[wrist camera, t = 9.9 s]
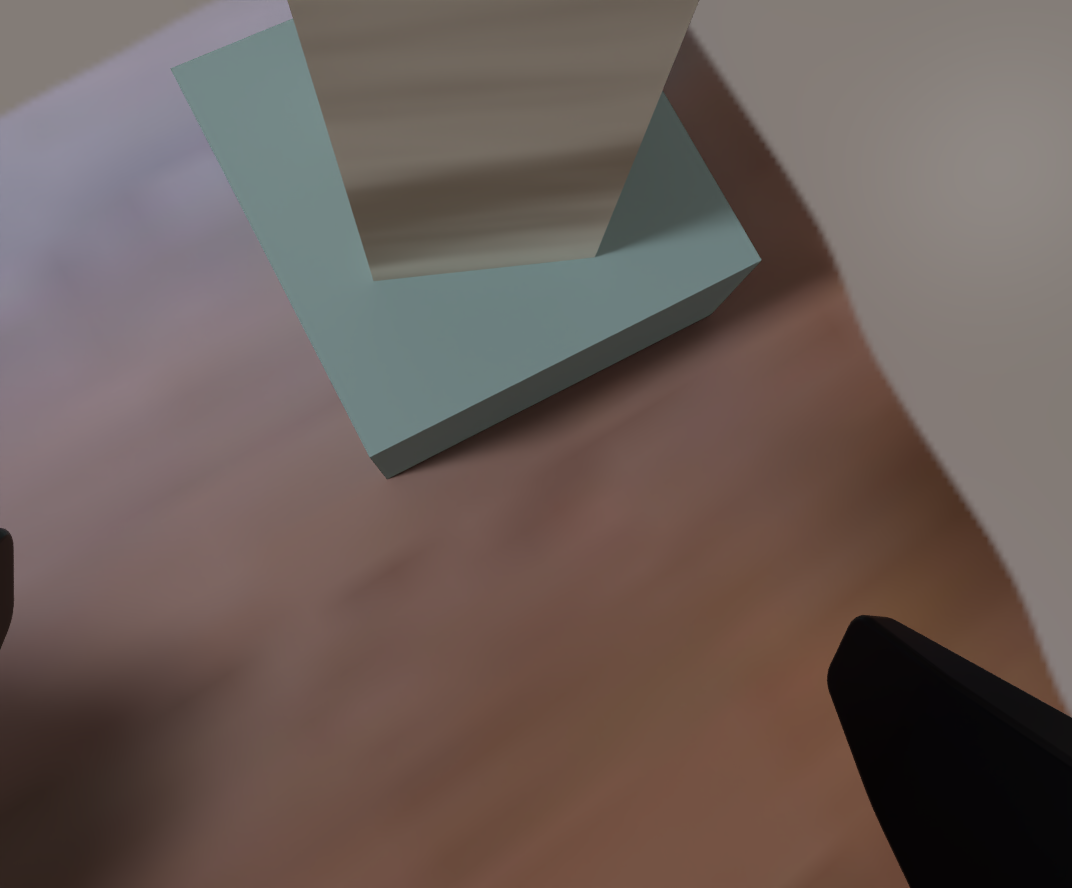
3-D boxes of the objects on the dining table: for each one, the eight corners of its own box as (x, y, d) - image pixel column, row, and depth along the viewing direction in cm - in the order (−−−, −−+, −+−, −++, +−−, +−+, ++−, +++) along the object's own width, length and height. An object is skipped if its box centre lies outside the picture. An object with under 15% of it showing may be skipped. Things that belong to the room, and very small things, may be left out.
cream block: (594, 257, 19) (737, -95, 9) (373, 281, 18) (266, -66, 8) (562, 57, 20) (660, -471, 10) (348, 74, 19) (224, -466, 9)
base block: (711, 314, 23) (761, 260, 19) (387, 479, 22) (369, 457, 18) (542, 19, 24) (557, -90, 20) (221, 157, 23) (170, 68, 19)
